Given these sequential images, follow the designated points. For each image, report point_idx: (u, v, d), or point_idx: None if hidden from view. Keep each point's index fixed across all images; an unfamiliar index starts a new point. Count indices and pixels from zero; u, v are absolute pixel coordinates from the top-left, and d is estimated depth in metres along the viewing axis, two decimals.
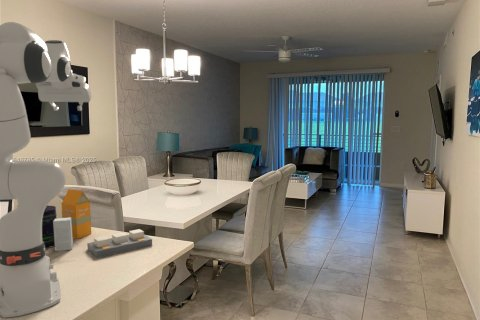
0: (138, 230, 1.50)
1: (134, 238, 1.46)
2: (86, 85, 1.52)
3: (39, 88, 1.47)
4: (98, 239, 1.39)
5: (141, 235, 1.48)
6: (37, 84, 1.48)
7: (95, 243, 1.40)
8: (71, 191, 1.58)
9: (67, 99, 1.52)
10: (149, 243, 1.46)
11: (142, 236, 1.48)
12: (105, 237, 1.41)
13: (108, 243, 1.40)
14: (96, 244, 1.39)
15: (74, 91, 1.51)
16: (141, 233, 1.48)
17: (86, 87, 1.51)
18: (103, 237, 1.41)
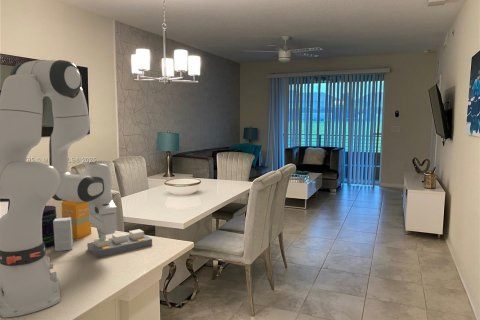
0: (138, 230, 1.50)
1: (134, 238, 1.46)
2: (110, 215, 1.33)
3: None
4: (98, 240, 1.39)
5: (141, 235, 1.48)
6: None
7: (95, 245, 1.40)
8: None
9: (97, 226, 1.38)
10: (149, 243, 1.46)
11: (142, 236, 1.48)
12: None
13: (108, 245, 1.40)
14: (96, 246, 1.39)
15: (100, 218, 1.35)
16: (141, 233, 1.48)
17: (107, 217, 1.32)
18: None
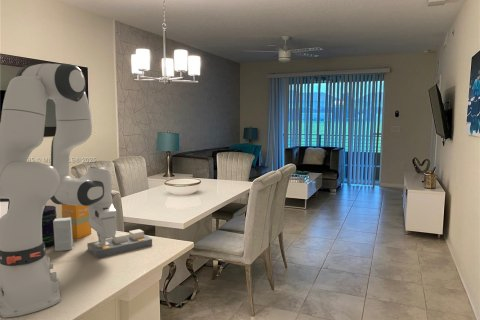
0: (138, 230, 1.50)
1: (134, 238, 1.46)
2: (110, 219, 1.33)
3: None
4: (99, 244, 1.40)
5: (141, 235, 1.48)
6: None
7: None
8: None
9: (97, 229, 1.38)
10: (149, 243, 1.46)
11: (142, 236, 1.48)
12: None
13: None
14: None
15: (100, 222, 1.35)
16: (141, 233, 1.48)
17: (107, 221, 1.32)
18: None
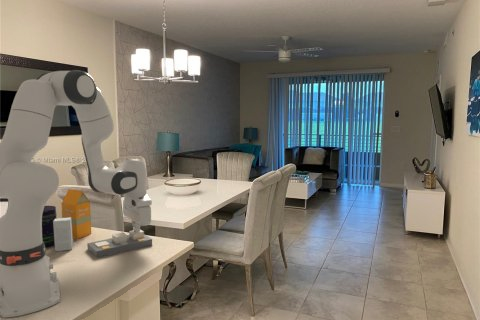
0: None
1: (134, 238, 1.46)
2: (146, 208, 1.41)
3: (123, 202, 1.53)
4: (99, 244, 1.40)
5: (141, 235, 1.48)
6: None
7: None
8: (71, 191, 1.58)
9: (133, 218, 1.46)
10: (149, 243, 1.46)
11: (142, 236, 1.48)
12: (105, 242, 1.41)
13: None
14: None
15: (136, 211, 1.44)
16: (141, 233, 1.48)
17: (143, 209, 1.40)
18: (103, 242, 1.41)
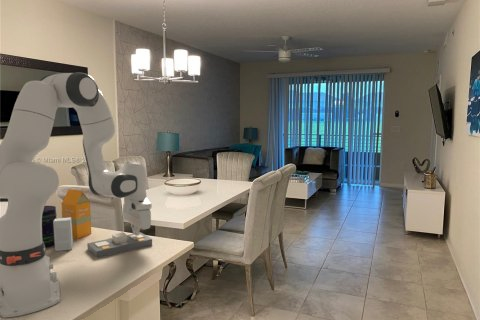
0: (138, 235, 1.50)
1: None
2: (146, 211, 1.41)
3: (123, 205, 1.53)
4: (99, 244, 1.40)
5: None
6: None
7: None
8: (71, 191, 1.58)
9: (132, 221, 1.46)
10: (149, 243, 1.46)
11: None
12: (105, 242, 1.41)
13: None
14: None
15: (136, 214, 1.43)
16: None
17: (143, 213, 1.40)
18: (103, 242, 1.41)
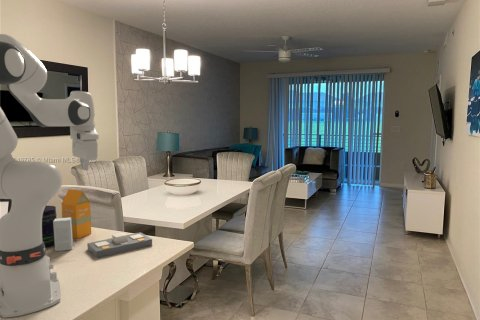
0: (138, 235, 1.50)
1: None
2: (92, 142, 1.33)
3: (72, 141, 1.45)
4: (99, 244, 1.40)
5: None
6: None
7: None
8: (71, 191, 1.58)
9: (80, 155, 1.38)
10: (149, 243, 1.46)
11: None
12: (105, 242, 1.41)
13: None
14: None
15: (82, 146, 1.35)
16: None
17: (88, 142, 1.32)
18: (103, 242, 1.41)
